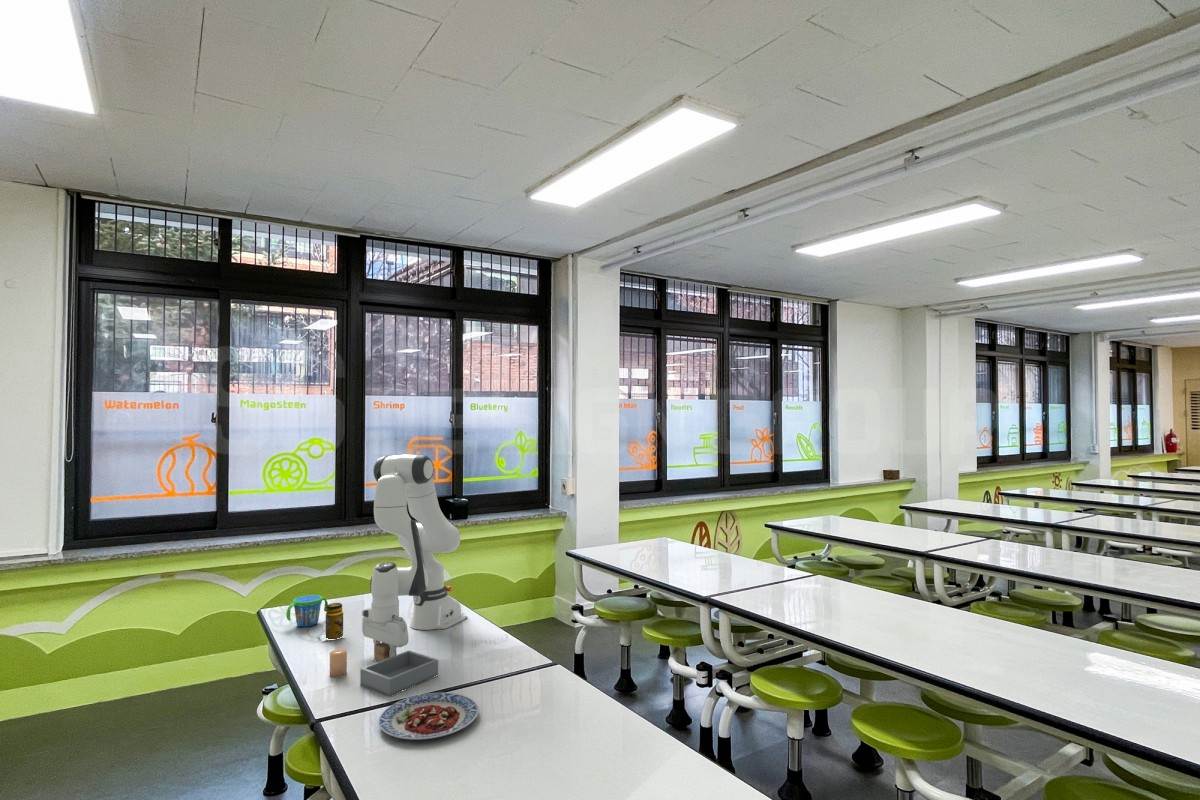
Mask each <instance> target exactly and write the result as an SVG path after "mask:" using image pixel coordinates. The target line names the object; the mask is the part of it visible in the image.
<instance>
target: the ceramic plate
mask: <svg viewBox="0 0 1200 800" xmlns="http://www.w3.org/2000/svg"><path fill="white" fill-rule="evenodd" d="M479 709H480V708H479V706H478V703H477V702H476V701H475V700H473V698H470V697H468V696H466V695H463V694H459V693H454V692H429V693H422V694H418V695H413V696H410V697H406V698H404V699H402V700H398V701H397V702H395V703H392V704H391V705H389V707H387V708H386V709H385V710H384V711H383V712H382V713H381V715H379V719H378V726H379V728H380V730H381V731H382V732H384V733H385V734H386V735H389V736H391V737H394V738H398V739H403V740H428V739H429V740H431V739H435V738H440V737H444V736H448V735H452V734H454V733H456V732H458V731H461V730H462V729H464V728H466V727H468V726H469V725H471V724H472V723H473V722H475V719H476V718H477V717H478V715H479V712H480V710H479Z"/></svg>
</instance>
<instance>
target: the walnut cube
mask: <svg viewBox="0 0 1200 800" xmlns="http://www.w3.org/2000/svg"><path fill="white" fill-rule="evenodd" d="M390 648H391V647H389V644H387V643H384V642H380V643H379V644H376V645H374V644H373V649H374V651H373V661H375V660H376V662H378V661H379V662H380V661H382V660H385V659H387V658H390V657H388V651H390ZM395 655H397V649H396V650H395Z"/></svg>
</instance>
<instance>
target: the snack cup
mask: <svg viewBox="0 0 1200 800" xmlns="http://www.w3.org/2000/svg"><path fill="white" fill-rule="evenodd" d="M323 601H324V607H323V610H324V612H325V613H326V612H327V605H329V604H328V601H327V599H326V598H325V597H323V596H321V595H319V594H318V595H317V594H307V595H301V596H298V597H295V598H294V599H292V602H291V603H290V604H289V605H288V607H287V609H286V613H285V614H286V615H285V617H286V619H287V620H288V621H291V609H292V608H294V614H295V615H294V616H295V620H296V625H297V627H300V626H301V627H300V628H308V627H307V626H309V627H312V626H315V625H314V624H316V623H317V622H318V623H319V619H320V613H321V605H322V602H323ZM318 623H317V624H318ZM317 624H316V625H317ZM311 625H312V626H311Z"/></svg>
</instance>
